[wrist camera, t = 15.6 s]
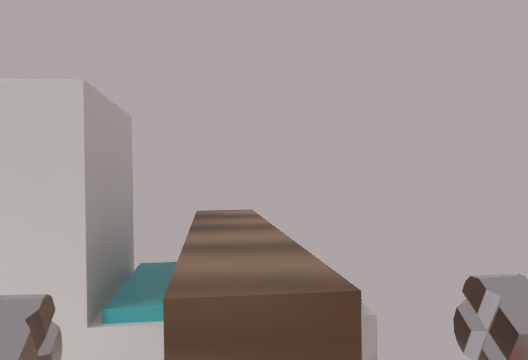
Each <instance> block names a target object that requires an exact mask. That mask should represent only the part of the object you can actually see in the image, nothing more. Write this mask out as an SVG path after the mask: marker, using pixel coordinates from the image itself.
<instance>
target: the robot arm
mask: <svg viewBox="0 0 528 360" xmlns="http://www.w3.org/2000/svg"><path fill="white" fill-rule="evenodd" d="M462 291H463V293H464V295H465V297H466V298H467V299H466V300H465V301H463V302H462V303H461V304H460V305H459V306H458V307H457V309H456V313H455V316H454V333H455V336H456V339H457V342H458V344H459V346H460V348H461V350H462V352H463V353H464V354H465V355H467V356H468V357H469V358H471V359H472V360H528V273H518V274H502V275H484V276H470V277H469V278H468V279H467V280H466V282H465V284H464V287H463V290H462ZM55 310H56V309H55V306H54V302H53V299H52V296H50V295H48V294H32V295H0V360H61V357H62V335H61V331H60V327H59V326H58V325H57V324H55V323H54V322H53V321H52V318H53V315H54V313H55Z"/></svg>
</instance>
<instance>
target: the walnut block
mask: <svg viewBox="0 0 528 360" xmlns="http://www.w3.org/2000/svg"><path fill="white" fill-rule="evenodd" d="M163 319H164V360H362V327H361V290H359V289H358V288H357V287H355V286H354V285H353V284H351V283H350V282H348V281H347V280H346V279H344V278H343V277H342V276H340V275H339V274H338V273H336V272H335V271H334V270H332V269H331V268H330V267H328V266H327V265H325V264H324V263H323V262H322V261H320V260H319V259H317V258H316V257H315V256H313V255H312V254H311V253H309V252H308V251H307V250H305V249H304V248H303V247H301V246H300V245H299V244H297V243H296V242H295V241H293V240H292V239H291V238H289V237H288V236H287V235H285V234H284V233H283V232H281V231H280V230H278V229H277V228H276V227H274V226H273V225H272V224H270V223H269V222H268V221H266V220H265V219H264V218H262V217H261V216H260V215H258V214H257V213H256V212H254V211H253V210H213V211H197V212H196V214H195V217H194V220H193V222H192V225H191V227H190V230H189V233H188V236H187V238H186V241H185V244H184V246H183V249H182V251H181V254H180V256H179V259H178V261H177V264H176V267H175V269H174V272H173V275H172V277H171V280H170V282H169V285H168V288H167V290H166V293H165V296H164V298H163Z"/></svg>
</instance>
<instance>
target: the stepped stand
mask: <svg viewBox="0 0 528 360" xmlns="http://www.w3.org/2000/svg"><path fill="white" fill-rule="evenodd" d="M132 182H133V179H132V118H131V116H130V115H129V114H127V113H126V112H125V111H124V110H122V109H121V108H120V107H118V106H117V105H116V104H115V103H113V102H112V101H110V100H109V99H108V98H107V97H105V96H104V95H103V94H102V93H100V92H99V91H98V90H96V89H95V88H94V87H93V86H91V85H90V84H89V83H88V82H86V81H85V80H84V79H0V295H32V294H48V295H50V296H52V299H53V302H54V306H55V309H56V310H55V313H54V315H53V318H52V321H53V322H54V323H55V324H57V325H58V326H59V327H60V331H61V335H62V357H61V360H164V319H163V298H164V296H165V293H166V290H167V288H168V285H169V282H170V280H171V277H172V275H173V272H174V269H175V267H176V264H177V262H164V263H140V265H139V266H138V267H137V268H136V269H135V271H134V247H133V244H134V243H133V183H132ZM376 321H377V317H376V314H375V313H374V312H372V311H371V310H370V309H369V308H367V307H366V306H365V305H364V304H363V303H362V302H361V327H362V360H377V322H376Z"/></svg>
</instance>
